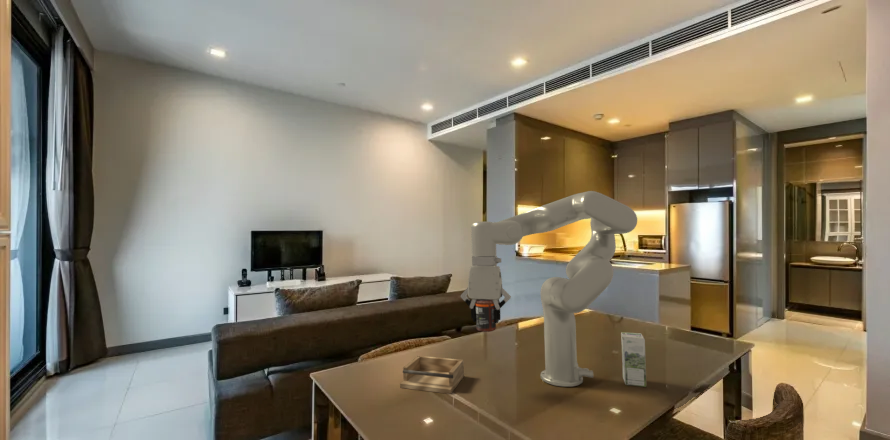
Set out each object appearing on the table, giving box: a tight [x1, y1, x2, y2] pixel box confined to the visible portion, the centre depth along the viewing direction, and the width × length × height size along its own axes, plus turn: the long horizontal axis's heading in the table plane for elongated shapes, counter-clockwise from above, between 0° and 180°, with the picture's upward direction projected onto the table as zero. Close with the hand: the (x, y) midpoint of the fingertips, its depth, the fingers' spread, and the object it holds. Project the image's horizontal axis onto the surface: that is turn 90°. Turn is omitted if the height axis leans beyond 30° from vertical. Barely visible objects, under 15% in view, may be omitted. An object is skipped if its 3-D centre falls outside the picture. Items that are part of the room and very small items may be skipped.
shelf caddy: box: [399, 355, 465, 395], centre depth 113 cm, size 16×14×5 cm
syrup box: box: [620, 331, 647, 388], centre depth 110 cm, size 6×6×14 cm
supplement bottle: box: [475, 299, 497, 333], centre depth 110 cm, size 6×6×11 cm
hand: (485, 321), depth 110 cm, fingers closed on supplement bottle, 6 cm apart
